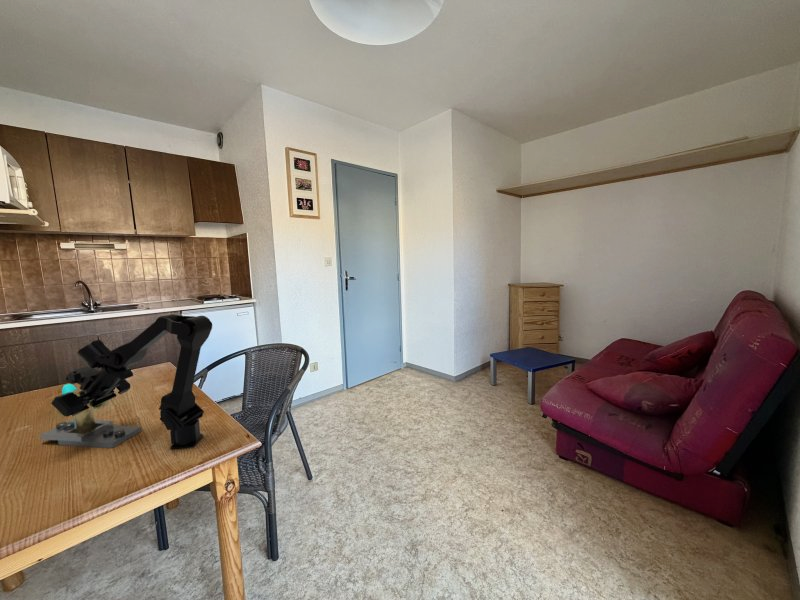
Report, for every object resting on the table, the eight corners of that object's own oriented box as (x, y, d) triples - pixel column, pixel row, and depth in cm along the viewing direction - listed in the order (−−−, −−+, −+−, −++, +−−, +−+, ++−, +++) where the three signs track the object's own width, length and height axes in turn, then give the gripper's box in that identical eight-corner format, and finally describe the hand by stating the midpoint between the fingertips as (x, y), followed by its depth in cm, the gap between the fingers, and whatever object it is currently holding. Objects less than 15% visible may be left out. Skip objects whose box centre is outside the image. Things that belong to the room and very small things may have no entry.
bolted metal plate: (141, 431, 103) (140, 419, 102) (112, 448, 93) (110, 435, 93) (76, 427, 105) (74, 416, 105) (41, 444, 96) (39, 431, 95)
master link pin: (99, 430, 101) (94, 387, 99) (84, 437, 97) (78, 393, 95) (89, 429, 102) (83, 387, 100) (73, 436, 98) (67, 392, 96)
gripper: (118, 351, 105) (93, 382, 108) (52, 369, 87) (23, 406, 89) (142, 374, 105) (116, 404, 108) (81, 398, 87) (51, 434, 89)
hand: (80, 411), depth 99 cm, fingers closed on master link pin, 4 cm apart
